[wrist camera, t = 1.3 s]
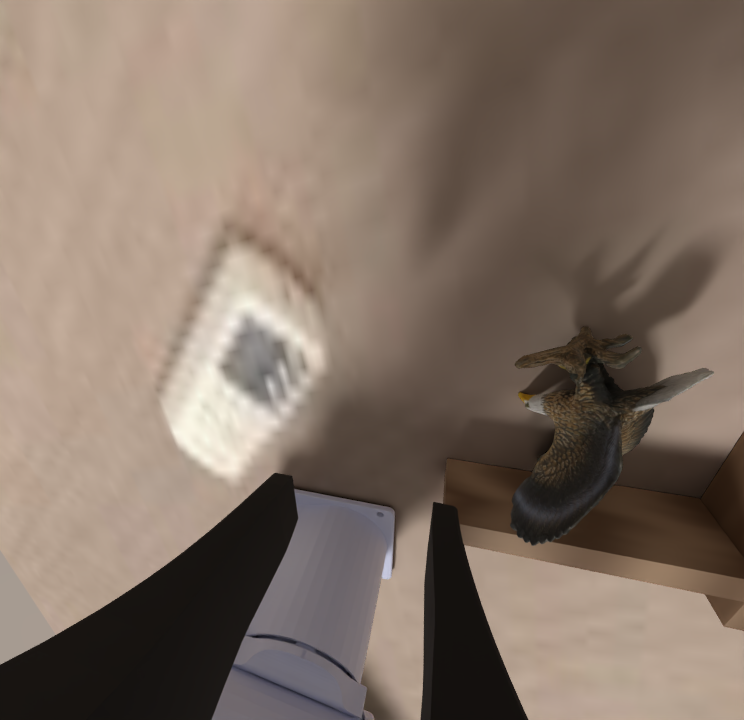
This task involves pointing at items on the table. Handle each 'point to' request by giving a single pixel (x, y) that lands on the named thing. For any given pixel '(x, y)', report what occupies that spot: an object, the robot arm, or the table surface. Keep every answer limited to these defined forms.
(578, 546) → the walnut corner bracket
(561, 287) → the table surface
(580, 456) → the eagle figurine
